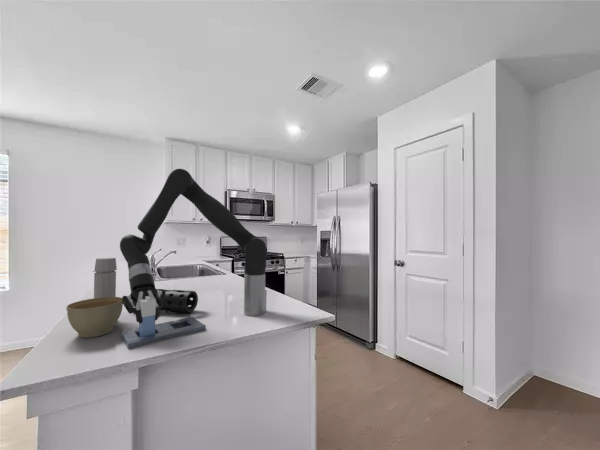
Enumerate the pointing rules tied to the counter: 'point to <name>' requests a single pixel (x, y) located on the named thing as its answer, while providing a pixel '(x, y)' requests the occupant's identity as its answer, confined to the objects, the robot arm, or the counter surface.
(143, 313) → the plug
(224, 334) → the counter surface
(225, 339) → the counter surface
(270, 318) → the counter surface
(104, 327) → the planter bowl
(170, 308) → the muzzle brake
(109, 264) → the water bottle
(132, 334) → the panel
